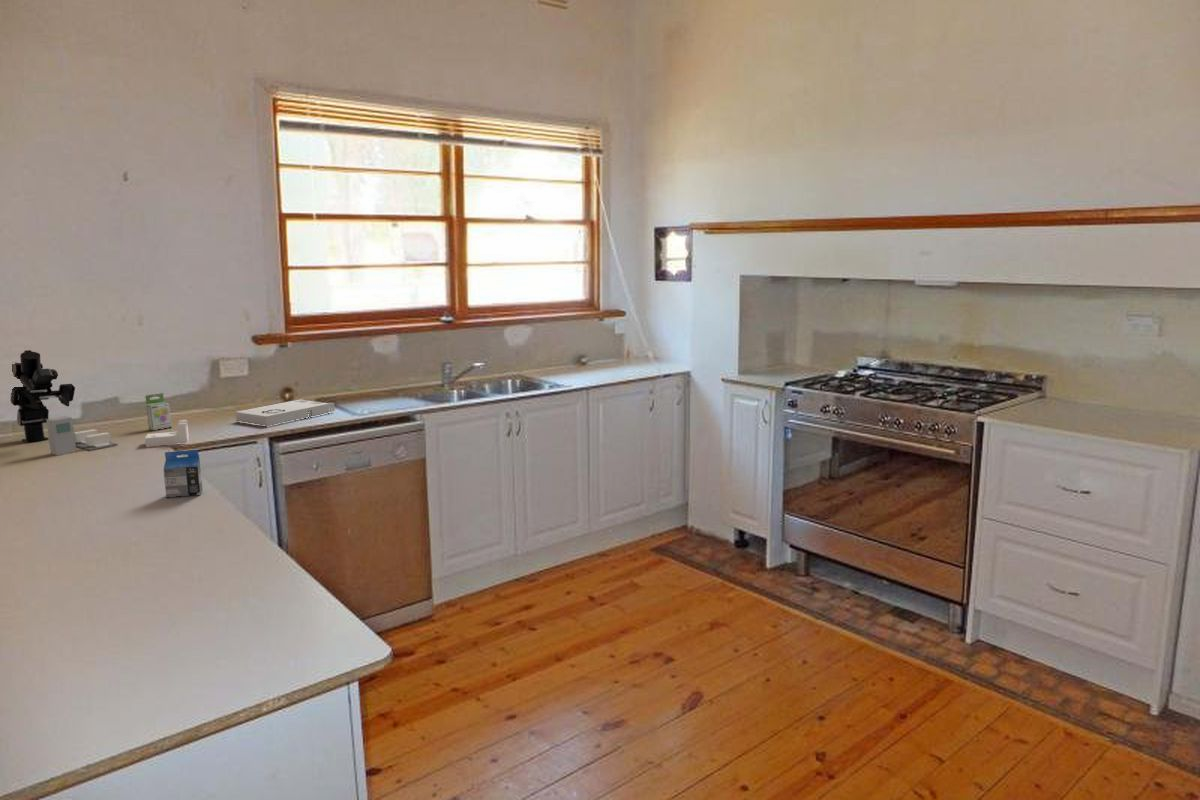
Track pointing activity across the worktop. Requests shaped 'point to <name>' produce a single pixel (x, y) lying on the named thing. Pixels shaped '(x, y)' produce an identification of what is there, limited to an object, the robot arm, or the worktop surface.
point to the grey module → (61, 435)
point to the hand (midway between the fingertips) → (53, 406)
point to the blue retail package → (182, 474)
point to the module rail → (92, 440)
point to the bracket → (169, 436)
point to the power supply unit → (283, 412)
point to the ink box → (158, 412)
